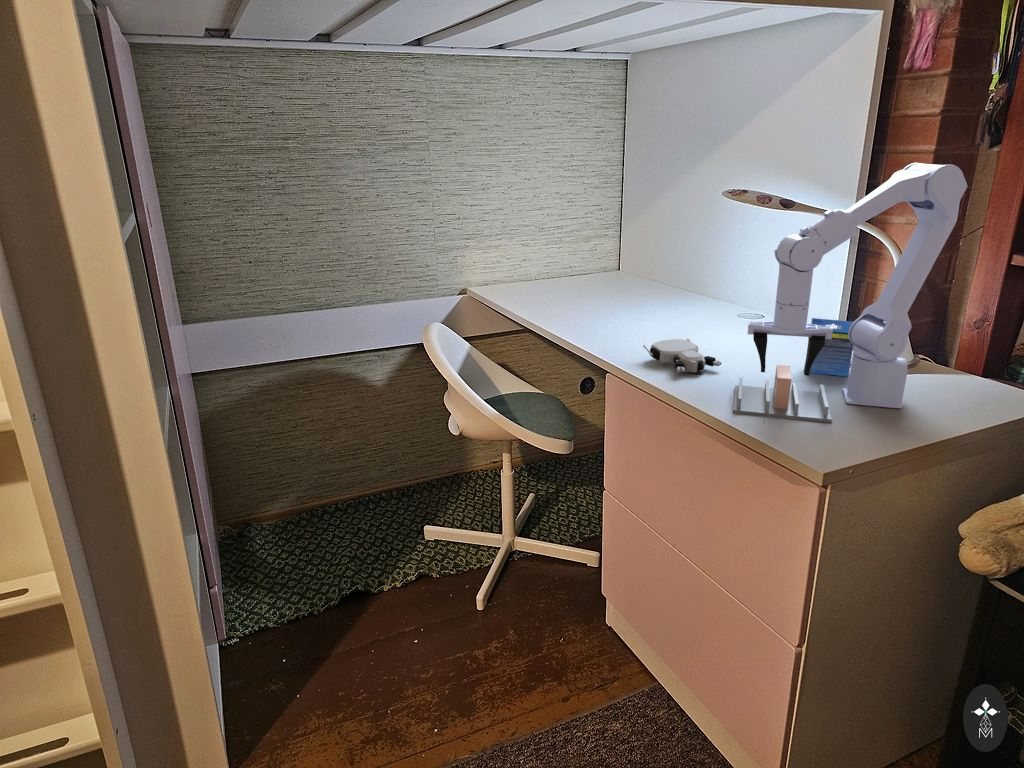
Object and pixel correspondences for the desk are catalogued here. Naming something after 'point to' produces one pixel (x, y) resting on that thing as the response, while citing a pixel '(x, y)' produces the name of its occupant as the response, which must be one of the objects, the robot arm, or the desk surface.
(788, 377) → the tile
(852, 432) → the desk surface
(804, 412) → the rack
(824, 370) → the label tape box
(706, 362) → the robot toy
